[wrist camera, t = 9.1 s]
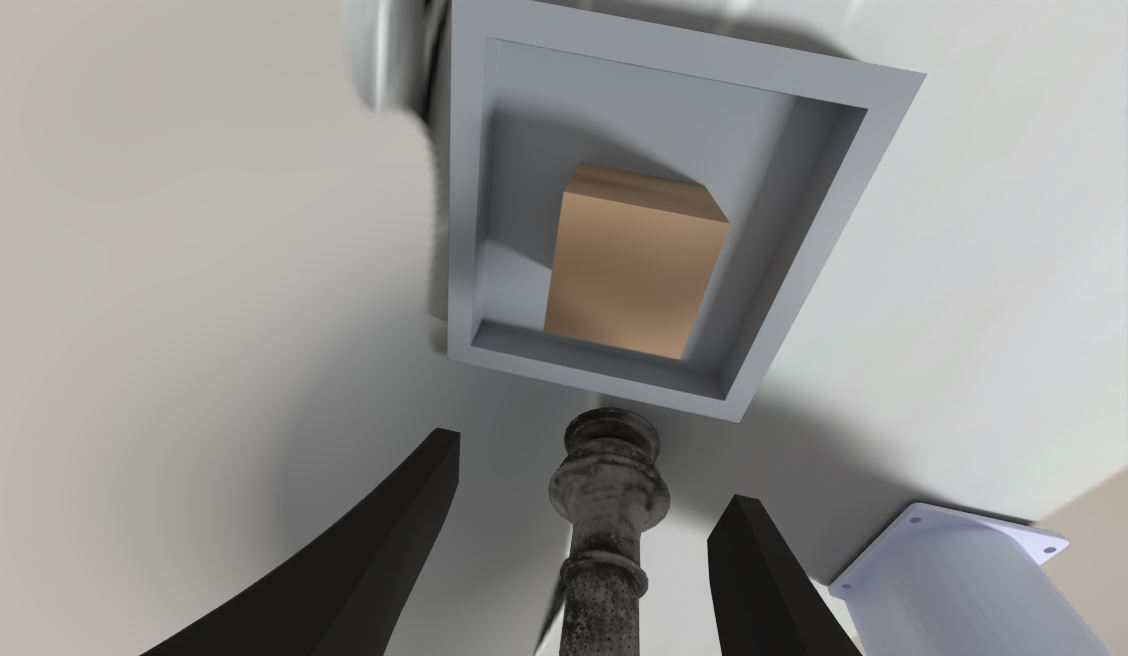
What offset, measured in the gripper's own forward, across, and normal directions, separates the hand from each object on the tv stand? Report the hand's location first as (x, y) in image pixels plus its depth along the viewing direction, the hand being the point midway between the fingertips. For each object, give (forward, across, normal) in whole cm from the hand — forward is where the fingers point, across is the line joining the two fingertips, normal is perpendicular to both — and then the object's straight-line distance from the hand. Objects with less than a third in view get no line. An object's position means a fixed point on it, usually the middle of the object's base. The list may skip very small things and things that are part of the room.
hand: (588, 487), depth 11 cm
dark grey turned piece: (+10, -2, +8) cm, 13 cm away
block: (+9, 0, -4) cm, 10 cm away
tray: (+9, 0, -4) cm, 10 cm away
